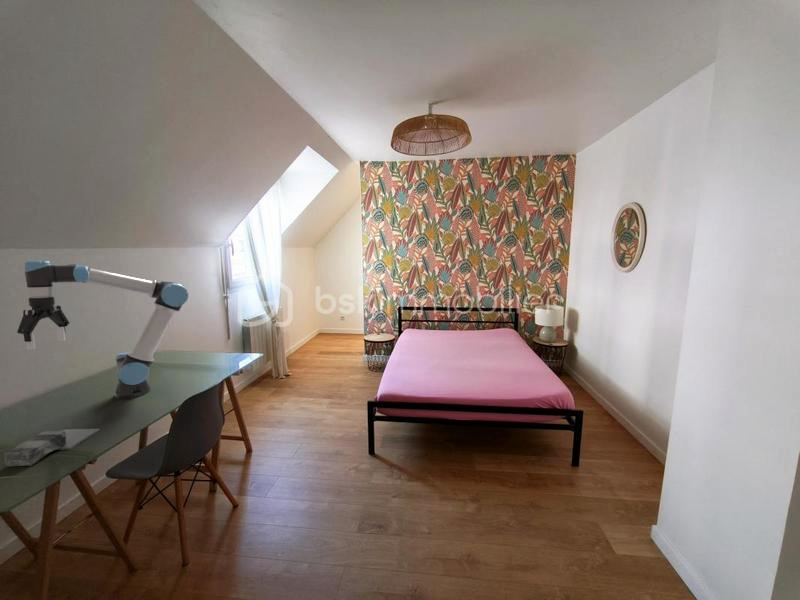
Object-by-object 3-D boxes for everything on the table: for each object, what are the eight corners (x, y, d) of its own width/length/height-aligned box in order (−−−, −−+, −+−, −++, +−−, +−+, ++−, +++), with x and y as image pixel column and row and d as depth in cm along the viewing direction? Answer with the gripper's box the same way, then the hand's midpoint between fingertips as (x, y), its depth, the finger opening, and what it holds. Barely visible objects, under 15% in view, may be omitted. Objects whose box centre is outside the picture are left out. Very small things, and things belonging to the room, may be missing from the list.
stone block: (70, 441, 130) (68, 429, 129) (33, 466, 116) (30, 453, 114) (46, 441, 129) (44, 429, 128) (5, 467, 115) (2, 454, 114)
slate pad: (64, 431, 139) (64, 429, 139) (99, 430, 140) (99, 428, 140) (30, 450, 125) (29, 448, 125) (69, 449, 126) (69, 447, 126)
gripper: (59, 293, 154) (64, 337, 156) (-1, 300, 129) (6, 352, 132) (76, 293, 154) (81, 337, 157) (19, 300, 130) (26, 352, 132)
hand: (47, 344), depth 144 cm, fingers open, 13 cm apart
